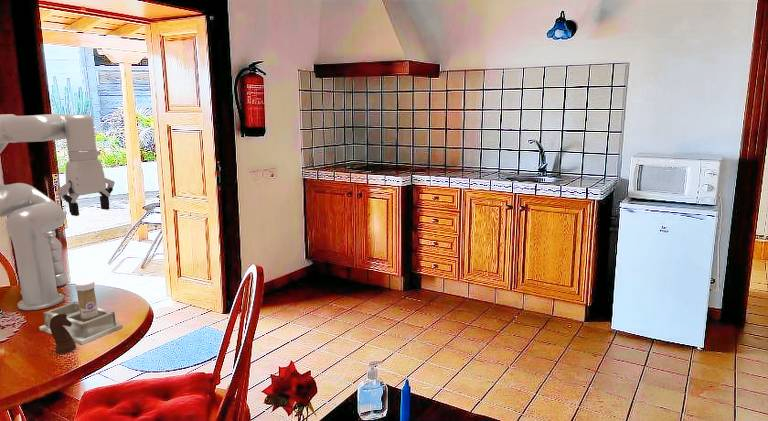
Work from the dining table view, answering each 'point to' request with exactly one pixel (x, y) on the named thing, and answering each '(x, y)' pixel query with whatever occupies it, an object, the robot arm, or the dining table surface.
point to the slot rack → (83, 323)
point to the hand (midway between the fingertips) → (90, 212)
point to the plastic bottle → (56, 257)
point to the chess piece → (62, 334)
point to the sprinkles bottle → (86, 300)
